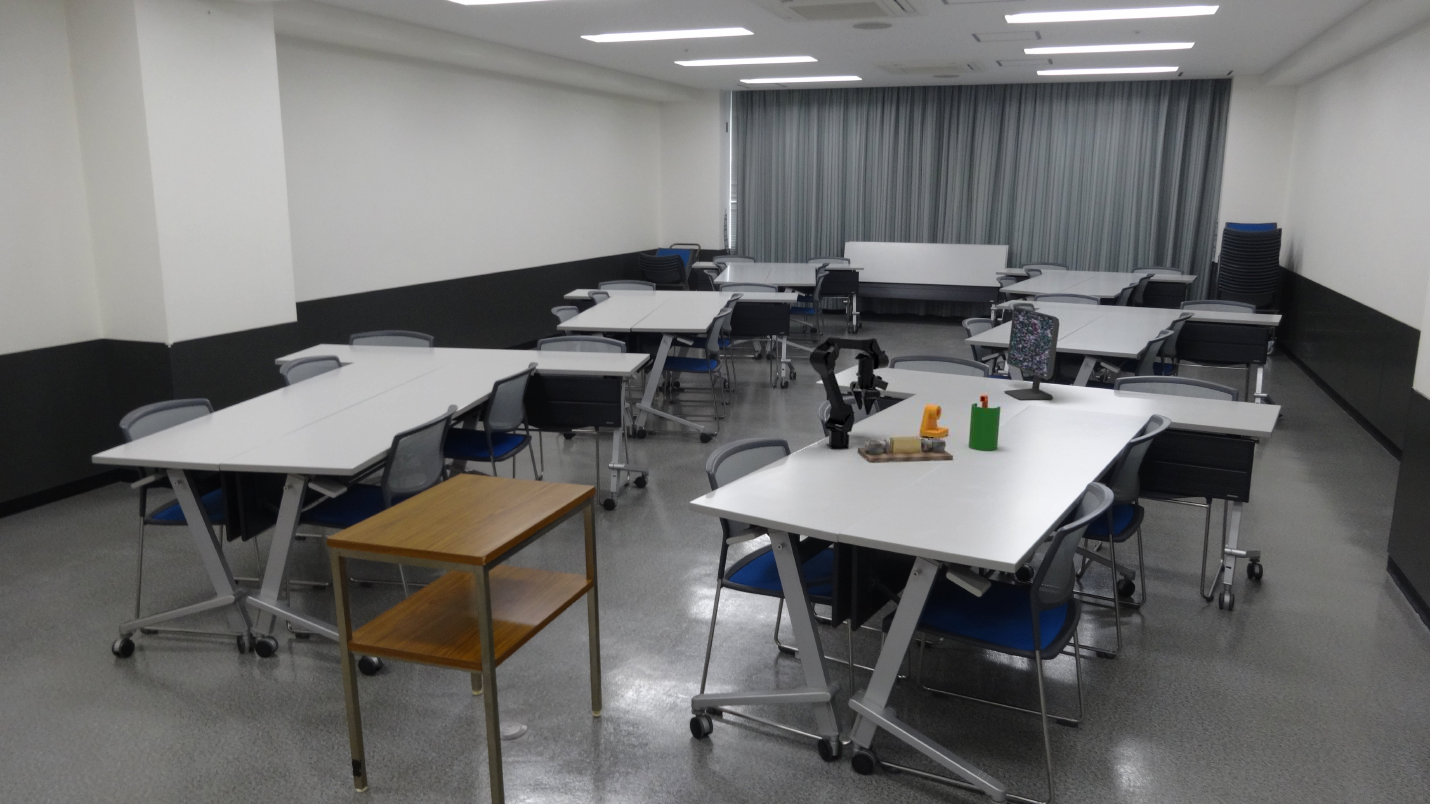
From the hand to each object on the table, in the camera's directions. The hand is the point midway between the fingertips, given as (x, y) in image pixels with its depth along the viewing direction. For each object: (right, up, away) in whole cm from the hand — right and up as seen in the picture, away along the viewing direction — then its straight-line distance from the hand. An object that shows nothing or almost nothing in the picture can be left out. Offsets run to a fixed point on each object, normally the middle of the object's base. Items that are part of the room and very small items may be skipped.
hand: (863, 412), depth 354 cm
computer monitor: (+91, +6, +89) cm, 128 cm away
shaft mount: (+12, -15, -19) cm, 27 cm away
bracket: (+29, -10, +11) cm, 32 cm away
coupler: (+12, -14, -19) cm, 26 cm away
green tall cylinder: (+43, -13, -6) cm, 45 cm away
